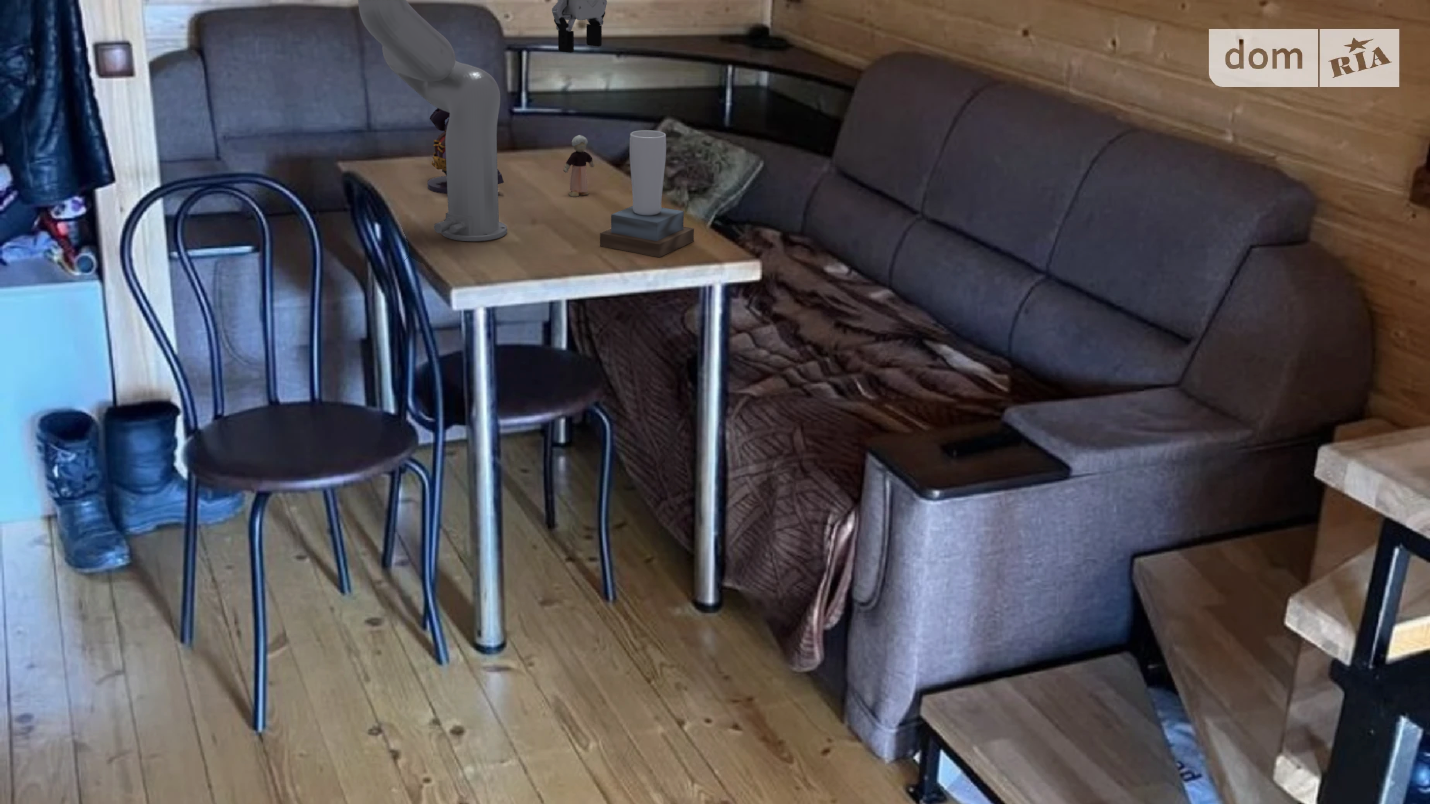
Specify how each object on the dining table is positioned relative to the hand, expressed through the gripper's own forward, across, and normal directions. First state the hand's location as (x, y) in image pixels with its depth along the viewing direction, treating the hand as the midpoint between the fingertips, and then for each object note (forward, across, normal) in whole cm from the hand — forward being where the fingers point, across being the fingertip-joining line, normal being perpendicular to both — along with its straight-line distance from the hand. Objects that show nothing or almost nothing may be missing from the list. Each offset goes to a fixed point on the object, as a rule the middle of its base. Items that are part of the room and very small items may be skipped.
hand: (580, 48), depth 277 cm
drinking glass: (+28, -9, -21) cm, 36 cm away
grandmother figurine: (+34, +15, +10) cm, 38 cm away
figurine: (+34, +5, +34) cm, 48 cm away
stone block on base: (+33, -9, -21) cm, 40 cm away
